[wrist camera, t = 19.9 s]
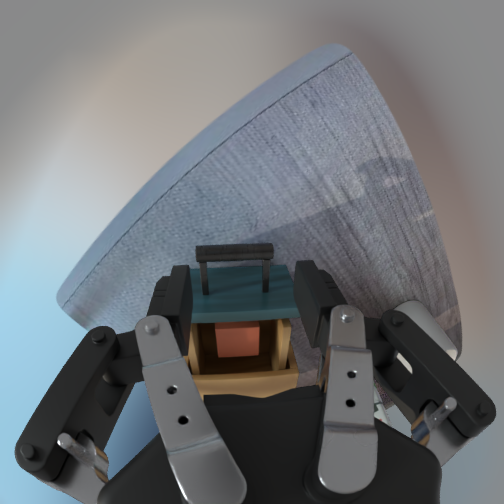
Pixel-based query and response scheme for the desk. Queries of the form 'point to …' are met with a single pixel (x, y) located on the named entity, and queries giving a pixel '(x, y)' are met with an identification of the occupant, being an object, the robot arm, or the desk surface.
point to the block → (237, 338)
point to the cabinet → (249, 380)
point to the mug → (426, 328)
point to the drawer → (240, 308)
